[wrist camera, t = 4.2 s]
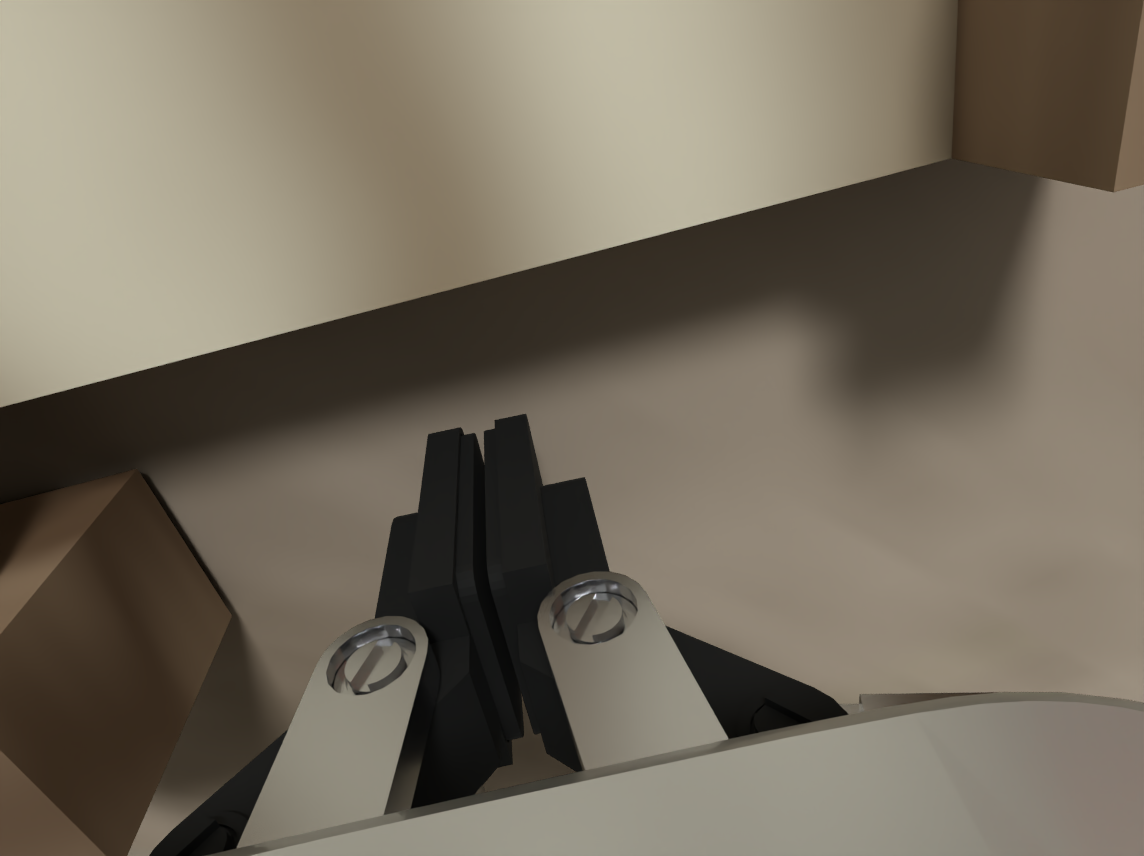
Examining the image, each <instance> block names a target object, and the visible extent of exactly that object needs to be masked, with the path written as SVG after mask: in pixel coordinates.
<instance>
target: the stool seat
mask: <svg viewBox="0 0 1144 856" xmlns="http://www.w3.org/2000/svg"><path fill="white" fill-rule="evenodd" d="M951 158H952V159H957V160H962V161H967V162H971V163H976V164H981V165H986V166H991V167H995V168H1000V169H1005V170H1010V171H1014V172H1019V173H1024V174H1029V175H1034V176H1038V177H1043V178H1048V179H1053V180H1057V181H1062V182H1067V183H1072V184H1077V185H1081V186H1086V187H1091V188H1096V189H1100V190H1105V191H1110V192H1117V191H1120V190H1124V189H1128V188H1132V187H1136V186H1139V185H1143V184H1144V0H0V407H4V406H7V405H11V404H15V403H19V402H23V401H26V400H30V399H34V398H38V397H42V396H46V395H49V394H53V393H57V392H61V391H65V390H69V389H72V388H76V387H80V386H84V385H88V384H91V383H95V382H99V381H103V380H107V379H111V378H114V377H118V376H122V375H126V374H130V373H133V372H137V371H141V370H145V369H149V368H153V367H156V366H160V365H164V364H168V363H172V362H175V361H179V360H183V359H187V358H191V357H195V356H198V355H202V354H206V353H210V352H214V351H217V350H221V349H225V348H229V347H233V346H237V345H240V344H244V343H248V342H252V341H256V340H259V339H263V338H267V337H271V336H275V335H279V334H282V333H286V332H290V331H294V330H298V329H301V328H305V327H309V326H313V325H317V324H321V323H324V322H328V321H332V320H336V319H340V318H343V317H347V316H351V315H355V314H359V313H363V312H366V311H370V310H374V309H378V308H382V307H385V306H389V305H393V304H397V303H401V302H405V301H408V300H412V299H416V298H420V297H424V296H428V295H431V294H435V293H439V292H443V291H447V290H450V289H454V288H458V287H462V286H466V285H470V284H473V283H477V282H481V281H485V280H489V279H492V278H496V277H500V276H504V275H508V274H512V273H515V272H519V271H523V270H527V269H531V268H534V267H538V266H542V265H546V264H550V263H554V262H557V261H561V260H565V259H569V258H573V257H576V256H580V255H584V254H588V253H592V252H596V251H599V250H603V249H607V248H611V247H615V246H618V245H622V244H626V243H630V242H634V241H638V240H641V239H645V238H649V237H653V236H657V235H660V234H664V233H668V232H672V231H676V230H680V229H683V228H687V227H691V226H695V225H699V224H702V223H706V222H710V221H714V220H718V219H722V218H725V217H729V216H733V215H737V214H741V213H745V212H748V211H752V210H756V209H760V208H764V207H767V206H771V205H775V204H779V203H783V202H787V201H790V200H794V199H798V198H802V197H806V196H809V195H813V194H817V193H821V192H825V191H829V190H832V189H836V188H840V187H844V186H848V185H851V184H855V183H859V182H863V181H867V180H871V179H874V178H878V177H882V176H886V175H890V174H893V173H897V172H901V171H905V170H909V169H913V168H916V167H920V166H924V165H928V164H932V163H935V162H939V161H943V160H947V159H951Z"/></svg>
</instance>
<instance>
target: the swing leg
mask: <svg viewBox="0 0 1144 856" xmlns="http://www.w3.org/2000/svg"><path fill="white" fill-rule="evenodd" d="M231 617H232V615H231V614H230V612H229V610H228V609H227V607H226V606H225V604H224V603H223V601H222V600H221V598H220V596H219V595H218V593H217V592H216V590H215V589H214V587H213V586H212V584H211V583H210V581H209V579H208V578H207V576H206V575H205V573H204V572H203V570H202V569H201V567H200V565H199V564H198V562H197V561H196V559H195V558H194V556H193V555H192V553H191V551H190V550H189V548H188V547H187V545H186V544H185V542H184V541H183V539H182V538H181V536H180V534H179V533H178V531H177V530H176V528H175V527H174V525H173V524H172V522H171V520H170V519H169V517H168V516H167V514H166V513H165V511H164V510H163V508H162V506H161V505H160V503H159V502H158V500H157V499H156V497H155V496H154V494H153V493H152V491H151V489H150V488H149V486H148V485H147V483H146V482H145V480H144V479H143V477H142V475H141V474H140V472H139V471H138V469H134V470H130V471H127V472H123V473H119V474H115V475H111V476H107V477H104V478H100V479H96V480H92V481H88V482H85V483H81V484H77V485H73V486H69V487H65V488H62V489H58V490H54V491H50V492H46V493H43V494H39V495H35V496H31V497H27V498H23V499H20V500H16V501H12V502H8V503H4V504H0V856H127V855H128V852H129V850H130V848H131V846H132V843H133V841H134V839H135V836H136V834H137V832H138V830H139V827H140V825H141V823H142V820H143V818H144V816H145V814H146V811H147V809H148V807H149V804H150V802H151V800H152V798H153V795H154V793H155V791H156V788H157V786H158V784H159V782H160V779H161V777H162V775H163V773H164V770H165V768H166V766H167V763H168V761H169V759H170V757H171V754H172V752H173V750H174V747H175V745H176V743H177V741H178V738H179V736H180V734H181V731H182V729H183V727H184V725H185V722H186V720H187V718H188V715H189V713H190V711H191V709H192V706H193V704H194V702H195V699H196V697H197V695H198V693H199V690H200V688H201V686H202V683H203V681H204V679H205V677H206V674H207V672H208V670H209V668H210V665H211V663H212V661H213V658H214V656H215V654H216V652H217V649H218V647H219V645H220V642H221V640H222V638H223V636H224V633H225V631H226V629H227V626H228V624H229V622H230V620H231Z"/></svg>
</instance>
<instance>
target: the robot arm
mask: <svg viewBox="0 0 1144 856" xmlns="http://www.w3.org/2000/svg"><path fill="white" fill-rule="evenodd" d="M484 459H485V465H484V462H483V458H482V454H481V451H480V447H479V443H478V440H477V437H476V434H475V433H472V434H467V435H464V433H463V430H462V428H461V427H460V428H455V429H451V430H446V431H441V432H436V433H431V434H428V439H427V447H426V454H425V462H424V470H423V478H422V486H421V493H420V501H419V509H418V513H413V514H408V515H403V516H399V517H396V518H394V519H393V522H392V526H391V532H390V537H389V543H388V548H387V554H386V559H385V565H384V570H383V576H382V581H381V587H380V592H379V598H378V603H377V609H376V614H375V619H371V620H368V621H366V622H364V623H361V624H359V625H357V626H355V627H353V628H351V629H350V630H348V631H347V632H345V633H344V634H342V635H341V636H339V637H338V638H337V639H336V640H335V641H334V642H333V643H332V644H331V645H330V646H329V647H328V648H327V649H326V650H325V652H324V653H323V655H322V657H321V658H320V660H319V662H318V663H317V665H316V668H315V670H314V672H313V674H312V677H311V679H310V681H309V684H308V686H307V688H306V690H305V693H304V695H303V697H302V700H301V702H300V704H299V706H298V709H297V711H296V713H295V715H294V718H293V720H292V722H291V725H290V727H289V729H288V730H287V731H286V732H285V733H283V734H282V735H281V736H280V737H279V738H278V739H276V740H275V741H274V742H273V743H272V744H271V745H270V746H268V747H267V748H266V749H265V750H264V751H263V752H261V753H260V754H259V755H258V756H257V757H256V758H255V759H253V760H252V761H251V762H250V763H249V764H248V765H247V766H245V767H244V768H243V769H242V770H241V771H240V772H238V773H237V774H236V775H235V776H234V777H233V778H232V779H230V780H229V781H228V782H227V783H226V784H225V785H224V786H222V787H221V788H220V789H219V790H218V791H217V792H215V793H214V794H213V795H212V796H211V797H210V798H209V799H207V800H206V801H205V802H204V803H203V804H202V805H201V806H199V807H198V808H197V809H196V810H195V811H194V812H192V813H191V814H190V815H189V816H188V817H187V818H186V819H184V820H183V821H182V822H181V823H180V824H179V825H178V826H176V827H175V828H174V829H173V830H172V831H171V832H170V833H169V834H168V835H167V836H166V837H165V838H164V839H163V840H162V841H161V842H160V843H159V844H158V845H157V846H156V847H155V848H154V850H153V851H152V852H151V854H150V855H149V856H1144V703H1143V702H1137V701H1132V700H1127V699H1119V698H1110V697H1101V696H1092V695H1083V694H1074V693H1065V692H989V693H916V694H860V696H859V704H838V703H837V702H836V701H835V700H834V699H833V698H831V697H830V696H828V695H826V694H824V693H823V692H821V691H819V690H817V689H816V688H814V687H811V686H809V685H806V684H804V683H802V682H799V681H797V680H794V679H792V678H790V677H787V676H785V675H782V674H780V673H778V672H775V671H773V670H770V669H768V668H766V667H763V666H761V665H758V664H756V663H754V662H751V661H749V660H746V659H744V658H742V657H739V656H737V655H734V654H732V653H730V652H727V651H725V650H722V649H720V648H718V647H715V646H713V645H710V644H708V643H706V642H703V641H701V640H698V639H696V638H694V637H691V636H689V635H686V634H684V633H682V632H679V631H677V630H675V629H672V628H670V627H667V626H665V625H664V623H663V621H662V619H661V618H660V616H659V614H658V612H657V610H656V609H655V607H654V605H653V603H652V602H651V600H650V598H649V596H648V594H647V593H646V591H645V590H644V589H643V588H642V587H641V586H640V584H639V583H638V582H636V581H634V580H633V579H631V578H629V577H627V576H626V575H622V574H618V573H614V572H610V571H609V567H608V563H607V560H606V556H605V552H604V548H603V544H602V540H601V537H600V533H599V529H598V525H597V521H596V517H595V513H594V510H593V506H592V502H591V498H590V494H589V490H588V487H587V483H586V479H585V477H583V478H578V479H573V480H569V481H564V482H559V483H555V484H550V485H545V486H543V484H542V479H541V475H540V471H539V466H538V462H537V458H536V453H535V449H534V445H533V440H532V436H531V431H530V427H529V423H528V419H527V415H526V414H522V415H518V416H513V417H508V418H503V419H499V420H495V429H491V430H486V431H484ZM521 693H522V696H523V699H524V703H525V706H526V709H527V713H528V716H529V719H530V723H531V726H532V729H533V732H534V734H539V733H541V735H542V739H543V742H544V746H545V749H546V752H547V754H549V755H550V756H552V757H553V758H555V759H557V760H558V761H560V762H562V763H563V764H565V765H566V766H568V767H570V768H571V769H573V770H574V771H576V772H575V773H571V774H566V775H562V776H557V777H553V778H548V779H544V780H539V781H535V782H530V783H526V784H521V785H517V786H512V787H508V788H503V789H499V790H494V791H490V792H486V791H485V789H484V786H483V784H484V783H485V782H486V780H487V779H488V778H489V777H490V776H491V775H492V773H493V772H494V771H495V770H496V769H497V768H498V767H502V766H507V765H511V764H513V760H512V741H511V740H512V739H517V738H521V737H523V736H524V726H523V712H522V698H521Z"/></svg>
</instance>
